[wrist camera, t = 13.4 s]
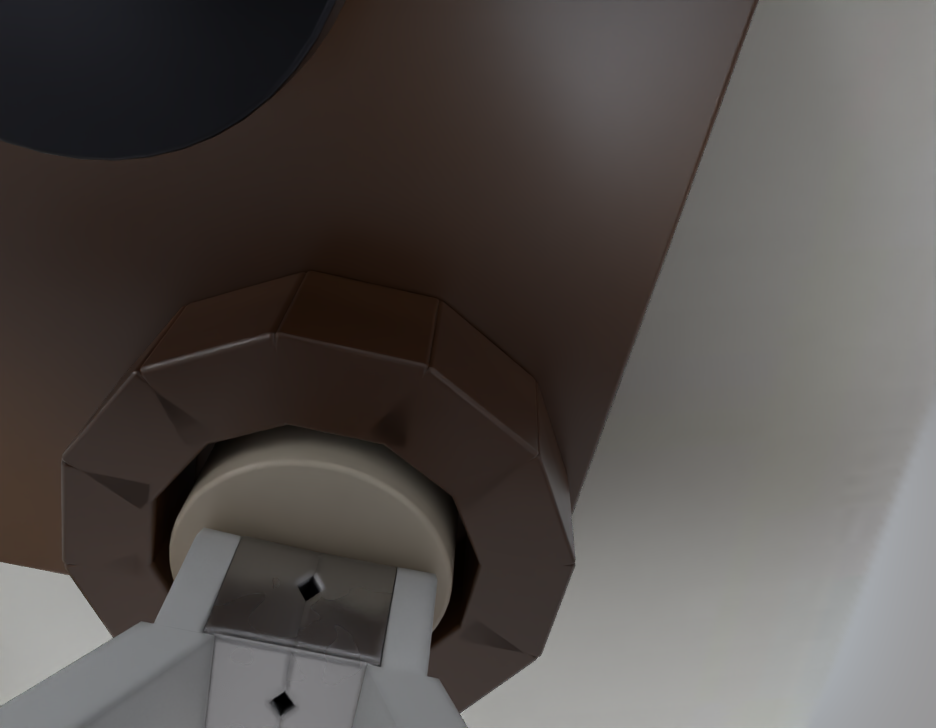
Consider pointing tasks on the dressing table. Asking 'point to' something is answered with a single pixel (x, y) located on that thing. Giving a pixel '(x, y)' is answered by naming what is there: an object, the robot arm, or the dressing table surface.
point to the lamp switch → (323, 502)
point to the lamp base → (362, 292)
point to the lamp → (146, 70)
